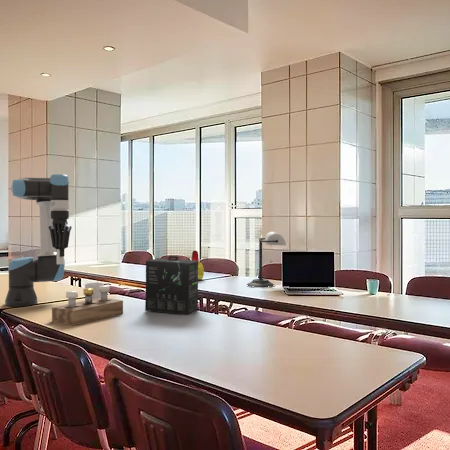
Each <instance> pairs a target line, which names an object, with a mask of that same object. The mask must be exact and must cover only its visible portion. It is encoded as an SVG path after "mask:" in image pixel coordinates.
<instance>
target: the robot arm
mask: <svg viewBox="0 0 450 450" xmlns="http://www.w3.org/2000/svg"><path fill="white" fill-rule="evenodd" d="M69 185H70V182H69V176H68V175H67V174H57V173H56V174H51V175H50V177H23V178H18V179H13V180H12V184H11V185H10V186H11V187H10V189H11V192H12V197H13V196H14V197H16V198H17V199H23V200H27V201H35V202H36V203H35V204H36V205H37V206H38V207H39V233H40V235H39V237H40V239H39V241H40V253H38V254H37V259H35V258H34V257H33V256H25V257H20V258H18V257H17V258H14V259H11V260H10V261H8V268H7V269H8V270H7V271H8V291H7V293H6V297H5V301H4V303H5V304H4V305H5V306H6V305H7V306H6V307H26V306H28V307H29V306H32V305H36V304H38V297H37V293H36V291H35V288H34V283H44V282H45V283H47V282H49V283H50V282H59V281H61V280H63V277H64V274H65V265H66V264H65V262H66V261H65V249H67V248H68V247H69V241H70V235H71V230H72V225H69V224H68V223H69V222H68V219H69V218H70V213H69V209H70V204H69V202H70V200H69V190H70V189H69Z"/></svg>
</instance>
